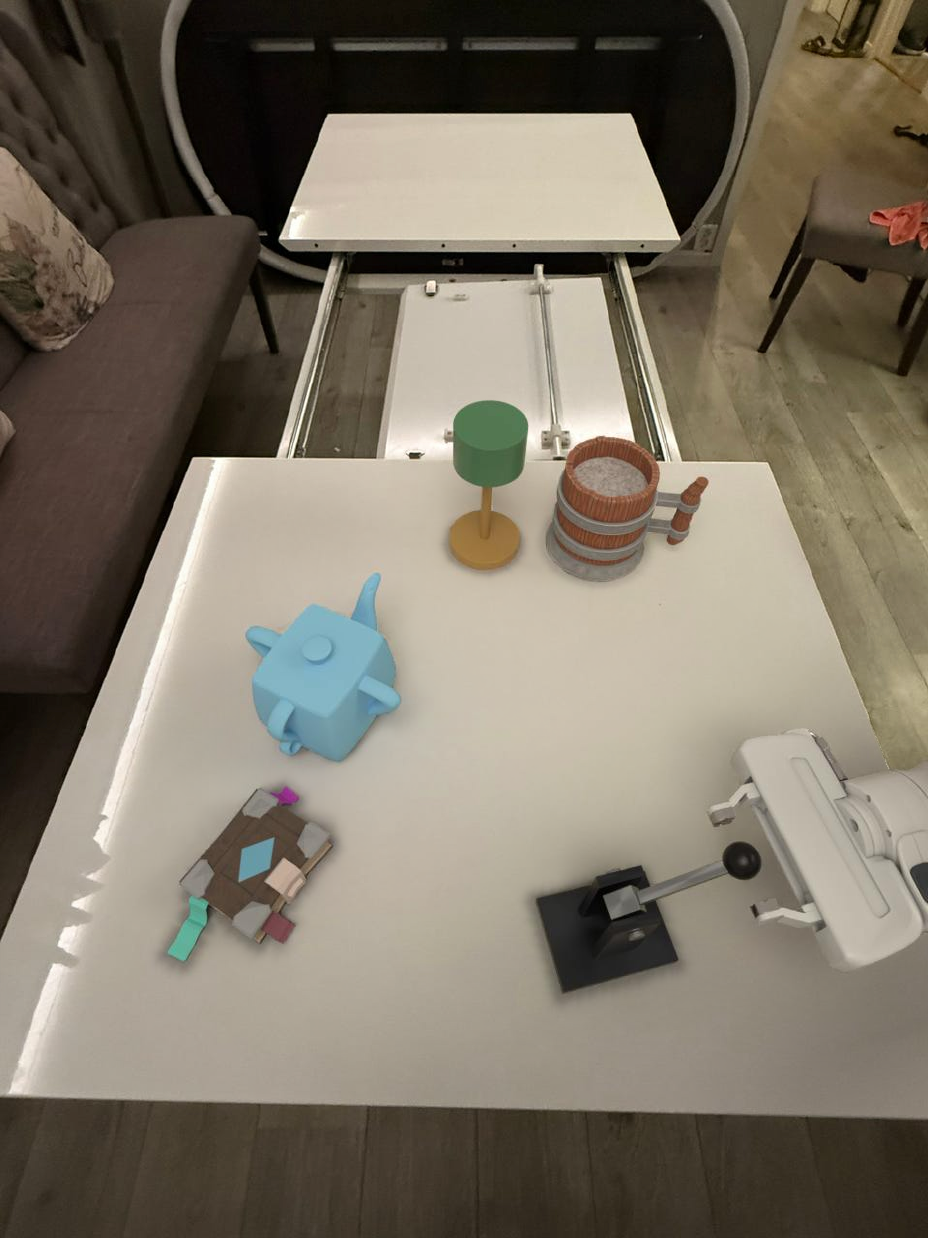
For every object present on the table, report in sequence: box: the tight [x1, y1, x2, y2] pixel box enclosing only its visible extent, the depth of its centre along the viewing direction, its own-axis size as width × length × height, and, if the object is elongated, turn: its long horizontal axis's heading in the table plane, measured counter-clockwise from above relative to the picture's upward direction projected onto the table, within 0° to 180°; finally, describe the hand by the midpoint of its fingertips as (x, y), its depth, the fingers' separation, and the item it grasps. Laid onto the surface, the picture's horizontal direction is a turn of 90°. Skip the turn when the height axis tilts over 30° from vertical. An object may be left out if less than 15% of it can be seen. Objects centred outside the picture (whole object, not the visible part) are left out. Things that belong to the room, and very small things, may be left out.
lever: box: [603, 840, 763, 921], centre depth 65 cm, size 14×3×3 cm, turn 103°
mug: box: [545, 435, 710, 582], centre depth 99 cm, size 14×19×15 cm
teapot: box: [245, 572, 402, 763], centre depth 84 cm, size 18×16×14 cm
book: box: [166, 785, 334, 962], centre depth 75 cm, size 20×12×5 cm, turn 148°
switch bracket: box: [535, 864, 679, 995], centre depth 70 cm, size 12×9×13 cm
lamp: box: [448, 399, 529, 571], centre depth 96 cm, size 10×10×22 cm
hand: (732, 863), depth 63 cm, fingers open, 7 cm apart
